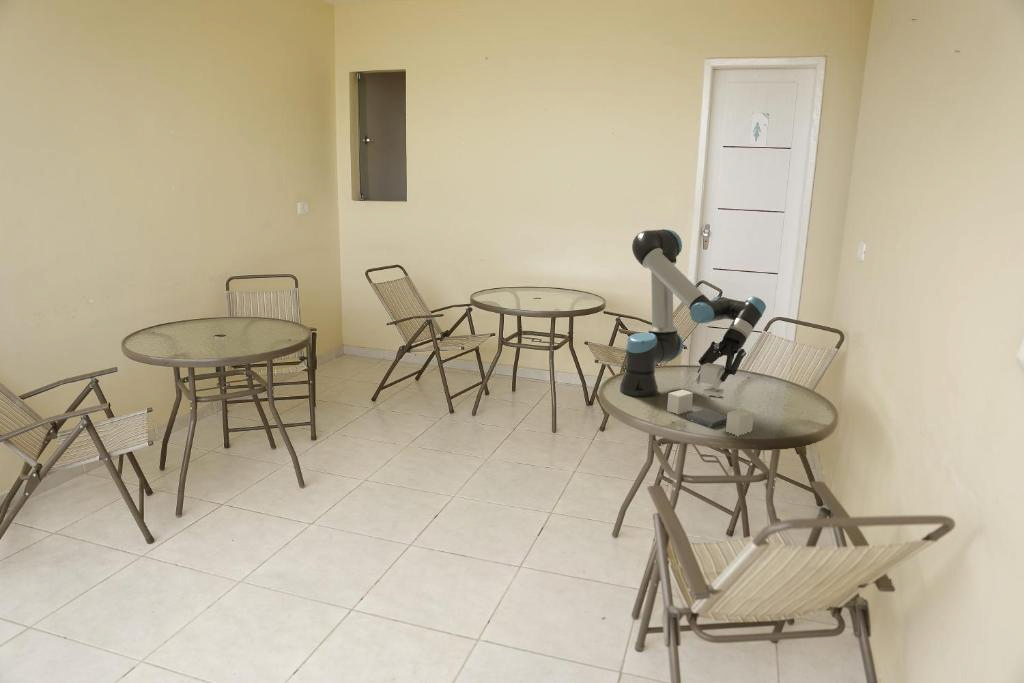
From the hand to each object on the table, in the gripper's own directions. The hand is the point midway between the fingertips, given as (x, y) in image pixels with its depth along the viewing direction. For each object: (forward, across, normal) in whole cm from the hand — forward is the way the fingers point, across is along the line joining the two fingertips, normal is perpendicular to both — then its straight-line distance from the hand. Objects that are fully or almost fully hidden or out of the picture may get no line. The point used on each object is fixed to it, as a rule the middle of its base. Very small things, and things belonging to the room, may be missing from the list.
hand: (705, 384), depth 243 cm
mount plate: (+8, 0, -12) cm, 15 cm away
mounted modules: (+8, 0, -12) cm, 15 cm away
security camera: (0, 0, -5) cm, 5 cm away
